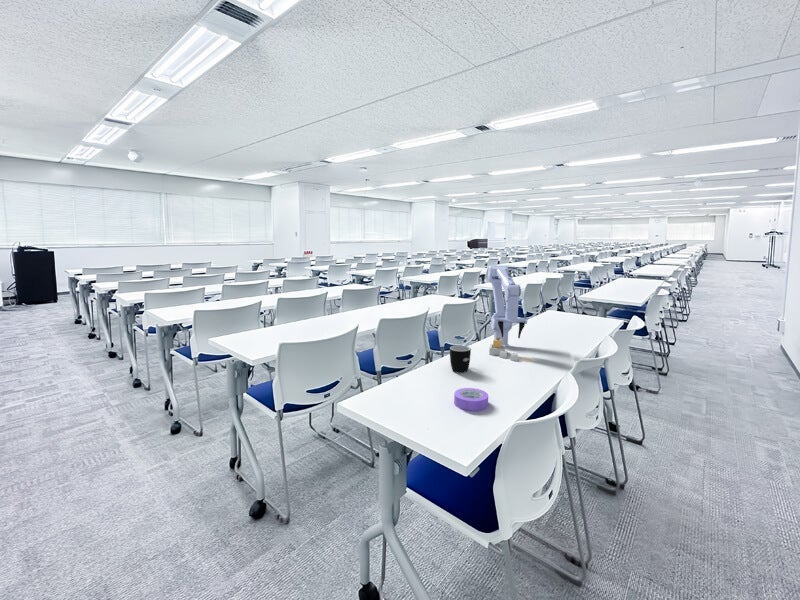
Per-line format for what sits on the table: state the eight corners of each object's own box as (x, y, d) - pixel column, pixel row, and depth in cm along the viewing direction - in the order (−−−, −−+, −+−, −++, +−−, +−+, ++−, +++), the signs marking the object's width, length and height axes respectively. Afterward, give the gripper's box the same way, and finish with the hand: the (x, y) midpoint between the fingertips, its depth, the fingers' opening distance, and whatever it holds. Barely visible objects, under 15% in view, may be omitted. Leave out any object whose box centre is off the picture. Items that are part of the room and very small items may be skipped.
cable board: (489, 351, 193) (489, 343, 192) (535, 355, 186) (535, 346, 185) (487, 361, 177) (487, 352, 177) (537, 365, 171) (537, 356, 170)
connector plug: (493, 352, 189) (494, 336, 188) (501, 352, 188) (502, 337, 186) (492, 354, 185) (493, 338, 184) (501, 355, 184) (501, 339, 183)
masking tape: (464, 394, 141) (464, 384, 140) (493, 403, 134) (494, 392, 133) (447, 405, 132) (447, 395, 131) (478, 415, 125) (478, 404, 124)
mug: (463, 375, 160) (463, 352, 158) (445, 371, 166) (445, 348, 164) (477, 368, 169) (477, 346, 167) (459, 363, 175) (460, 342, 173)
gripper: (495, 310, 181) (494, 338, 183) (527, 312, 176) (526, 340, 179) (496, 308, 187) (495, 334, 189) (527, 309, 183) (526, 336, 185)
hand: (510, 337), depth 184 cm, fingers open, 7 cm apart
